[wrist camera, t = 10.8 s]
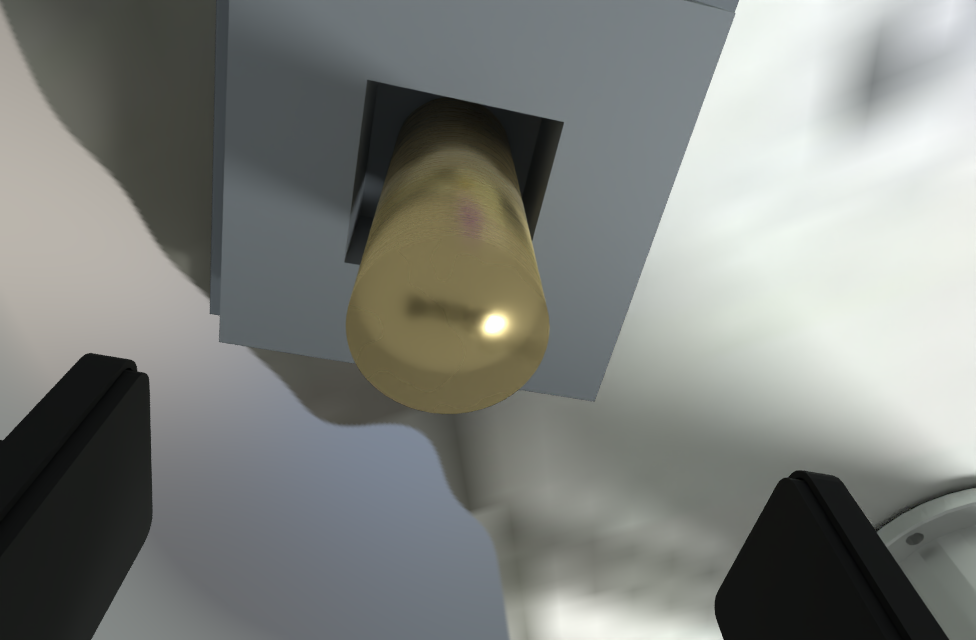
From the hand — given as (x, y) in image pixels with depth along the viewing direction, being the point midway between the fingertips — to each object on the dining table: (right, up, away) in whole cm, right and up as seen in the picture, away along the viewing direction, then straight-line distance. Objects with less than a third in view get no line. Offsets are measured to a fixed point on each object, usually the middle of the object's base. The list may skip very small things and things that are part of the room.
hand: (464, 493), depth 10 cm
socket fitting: (-1, +9, +15) cm, 17 cm away
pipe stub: (-1, +8, +14) cm, 16 cm away
